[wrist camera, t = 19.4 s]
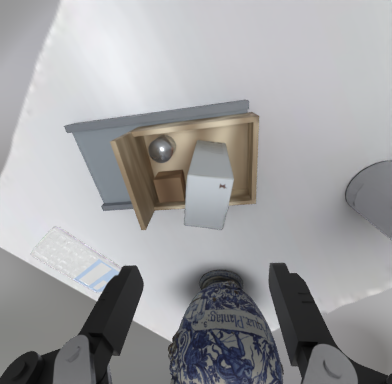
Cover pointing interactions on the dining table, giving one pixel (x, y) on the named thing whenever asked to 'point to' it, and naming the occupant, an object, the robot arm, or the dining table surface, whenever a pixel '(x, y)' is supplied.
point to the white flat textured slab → (75, 259)
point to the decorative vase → (224, 338)
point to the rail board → (115, 127)
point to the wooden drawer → (187, 158)
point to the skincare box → (208, 186)
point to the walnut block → (170, 186)
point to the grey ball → (162, 148)
